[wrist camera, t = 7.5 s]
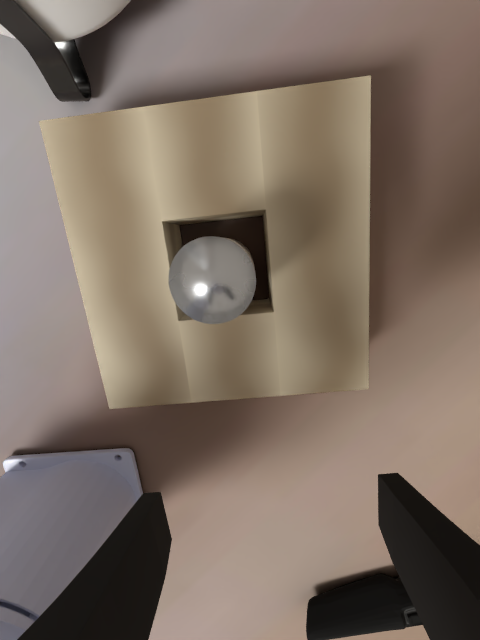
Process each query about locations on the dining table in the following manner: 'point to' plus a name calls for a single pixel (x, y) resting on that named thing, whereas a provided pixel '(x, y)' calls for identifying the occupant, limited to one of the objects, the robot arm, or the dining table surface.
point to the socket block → (215, 205)
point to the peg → (213, 279)
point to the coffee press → (58, 37)
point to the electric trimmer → (361, 609)
